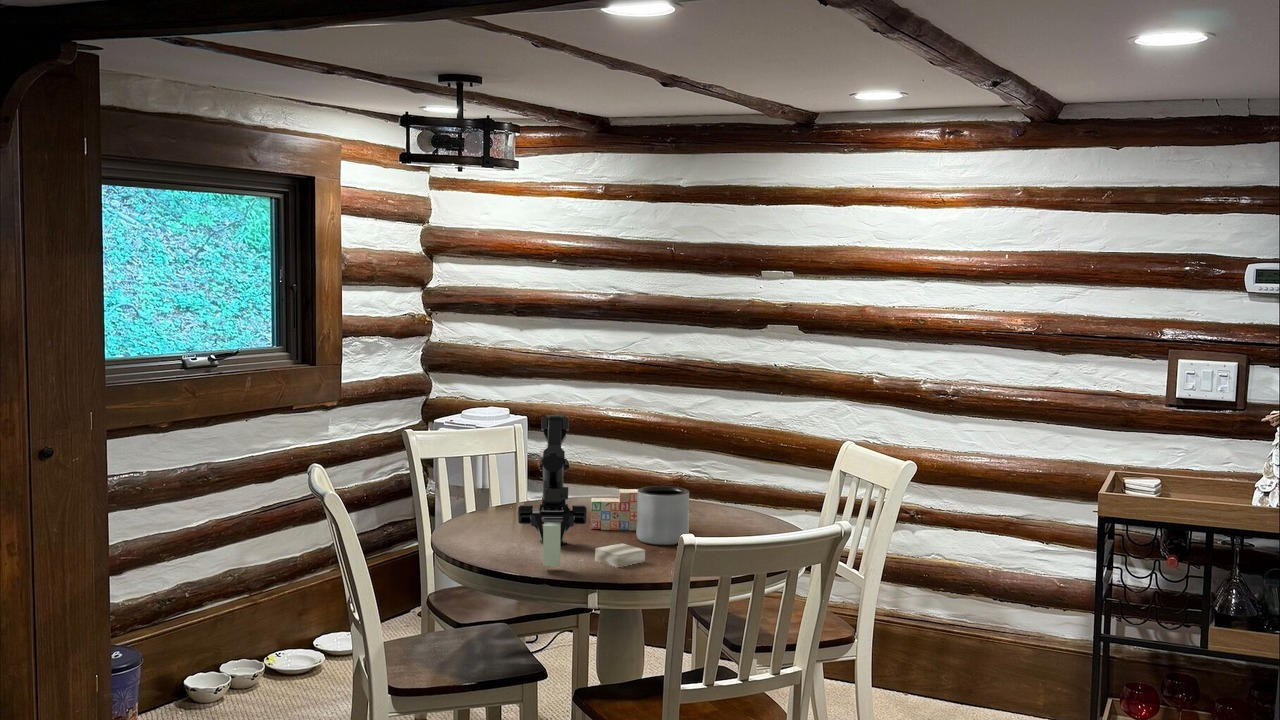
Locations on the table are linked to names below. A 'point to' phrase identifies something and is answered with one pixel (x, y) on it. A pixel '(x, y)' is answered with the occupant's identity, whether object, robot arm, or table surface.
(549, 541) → the tall sage block
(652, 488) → the planter
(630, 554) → the cream base block
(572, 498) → the table surface
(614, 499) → the stack of blocks
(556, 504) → the robot arm
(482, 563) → the table surface
